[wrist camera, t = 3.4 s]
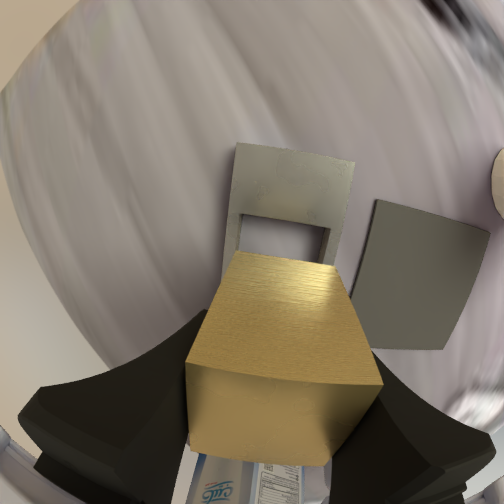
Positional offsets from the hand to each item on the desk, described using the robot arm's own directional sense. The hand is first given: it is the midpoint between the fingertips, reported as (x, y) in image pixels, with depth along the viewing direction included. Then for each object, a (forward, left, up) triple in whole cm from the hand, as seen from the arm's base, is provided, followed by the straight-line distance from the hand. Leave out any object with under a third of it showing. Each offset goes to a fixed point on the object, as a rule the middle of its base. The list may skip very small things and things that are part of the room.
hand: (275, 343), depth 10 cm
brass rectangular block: (0, 0, -3) cm, 3 cm away
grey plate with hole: (-2, 0, -10) cm, 10 cm away
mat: (-1, -12, -10) cm, 15 cm away
